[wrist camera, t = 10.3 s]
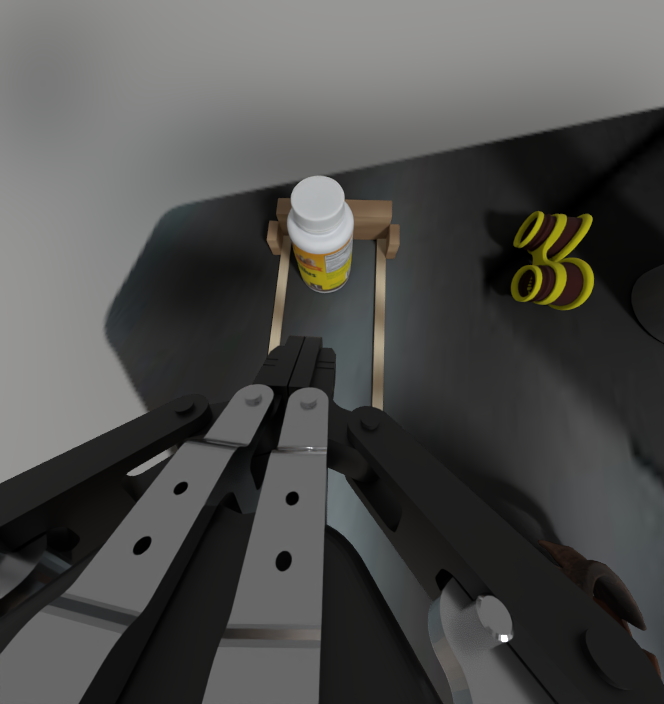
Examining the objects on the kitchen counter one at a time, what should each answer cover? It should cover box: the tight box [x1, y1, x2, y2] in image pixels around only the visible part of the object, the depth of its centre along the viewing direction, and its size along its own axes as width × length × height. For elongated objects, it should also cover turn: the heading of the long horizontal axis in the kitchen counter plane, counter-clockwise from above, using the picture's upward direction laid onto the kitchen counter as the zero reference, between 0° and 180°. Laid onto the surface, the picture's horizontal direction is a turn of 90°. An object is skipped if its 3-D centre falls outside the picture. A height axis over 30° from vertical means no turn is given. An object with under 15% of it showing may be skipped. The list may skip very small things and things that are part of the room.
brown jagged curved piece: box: [538, 540, 661, 678], centre depth 18 cm, size 12×10×8 cm
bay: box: [267, 198, 399, 411], centre depth 25 cm, size 22×14×4 cm, turn 176°
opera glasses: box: [511, 211, 594, 310], centre depth 24 cm, size 10×5×5 cm, turn 168°
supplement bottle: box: [287, 176, 354, 293], centre depth 23 cm, size 6×6×10 cm
